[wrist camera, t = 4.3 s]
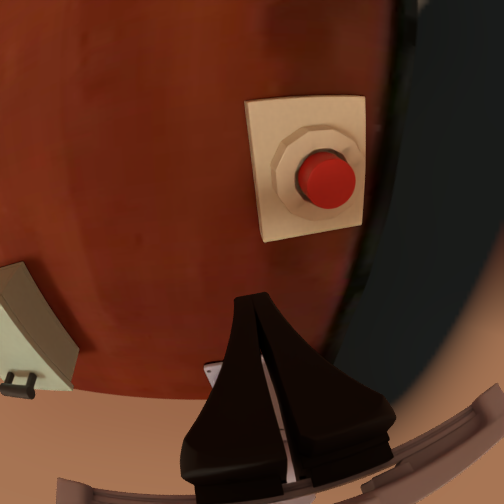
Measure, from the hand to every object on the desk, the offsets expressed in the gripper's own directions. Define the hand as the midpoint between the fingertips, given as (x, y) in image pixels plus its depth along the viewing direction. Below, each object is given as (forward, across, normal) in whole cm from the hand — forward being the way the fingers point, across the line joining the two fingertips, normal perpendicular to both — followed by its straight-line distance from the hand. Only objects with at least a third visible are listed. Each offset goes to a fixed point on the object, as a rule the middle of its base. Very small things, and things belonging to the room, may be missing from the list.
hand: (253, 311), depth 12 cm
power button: (+8, -6, -3) cm, 10 cm away
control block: (+10, -6, -3) cm, 12 cm away
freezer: (+10, +25, +7) cm, 28 cm away
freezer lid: (+6, +25, +7) cm, 27 cm away
